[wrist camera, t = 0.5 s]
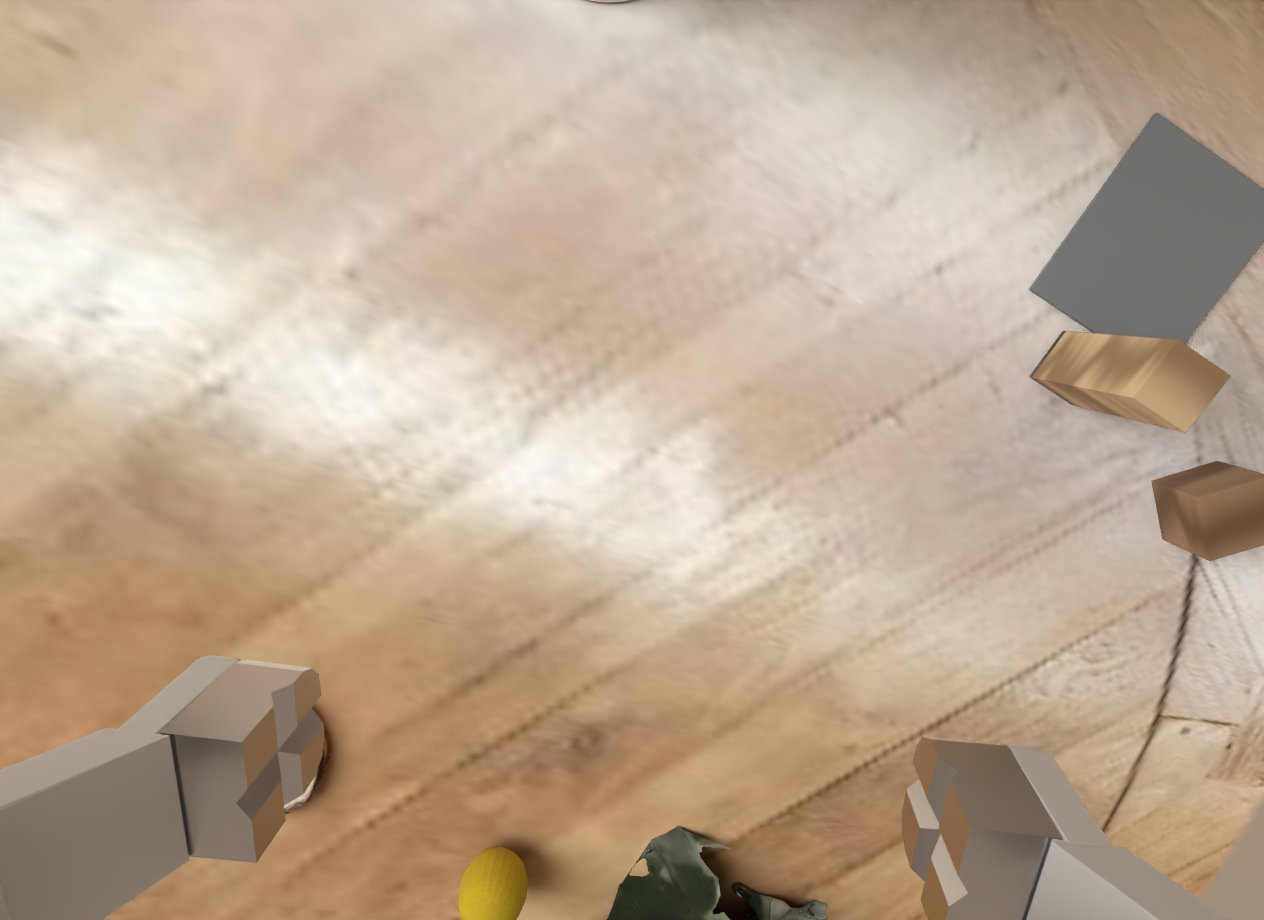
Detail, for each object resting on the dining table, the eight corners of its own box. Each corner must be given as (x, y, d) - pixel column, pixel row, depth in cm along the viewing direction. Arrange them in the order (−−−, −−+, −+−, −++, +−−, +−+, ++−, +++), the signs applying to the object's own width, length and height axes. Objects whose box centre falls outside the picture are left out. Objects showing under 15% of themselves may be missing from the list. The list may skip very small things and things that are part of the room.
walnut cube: (1150, 480, 57) (1198, 497, 52) (1215, 460, 57) (1270, 476, 52) (1161, 539, 58) (1209, 561, 53) (1226, 519, 58) (1280, 540, 53)
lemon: (495, 815, 64) (475, 887, 56) (546, 850, 65) (532, 925, 57) (458, 857, 65) (433, 934, 57) (508, 891, 66) (490, 971, 58)
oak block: (1071, 404, 56) (1185, 432, 44) (1029, 376, 55) (1133, 397, 44) (1105, 359, 55) (1230, 375, 43) (1063, 330, 55) (1178, 339, 43)
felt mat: (1156, 375, 55) (1159, 375, 55) (1028, 289, 54) (1030, 289, 54) (1285, 207, 52) (1289, 207, 52) (1154, 113, 51) (1157, 112, 51)
